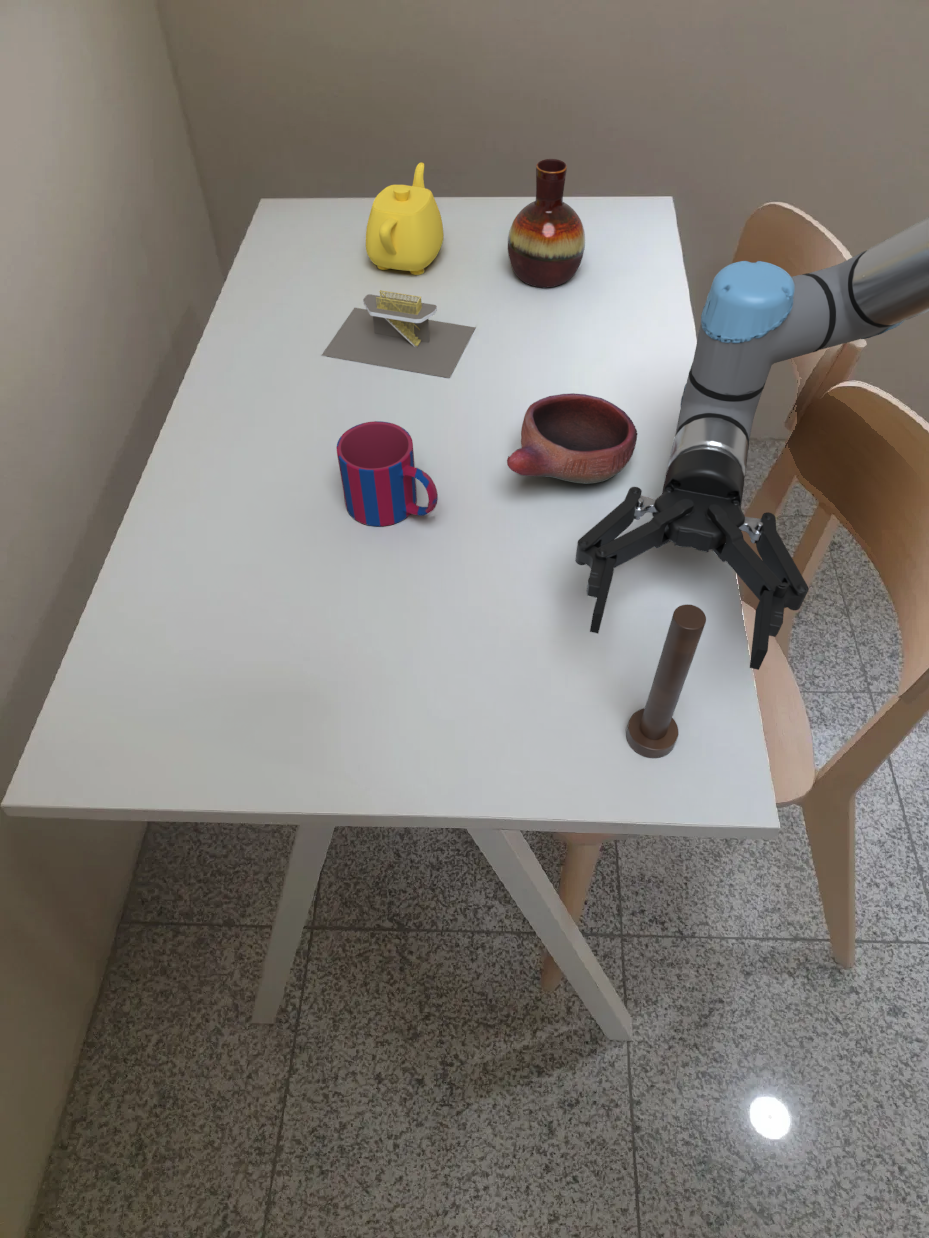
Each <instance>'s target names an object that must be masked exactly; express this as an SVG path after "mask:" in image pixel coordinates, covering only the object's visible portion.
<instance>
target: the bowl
mask: <svg viewBox="0 0 929 1238" xmlns="http://www.w3.org/2000/svg"><path fill="white" fill-rule="evenodd" d="M520 437H521V439H520V444H521V445H520V446H521V447H520V448H518V449H516V450H514V451H513V452H512V453H511V454H510V455H508V456H507V459H506V464H507V467H508V468H509V469H510V470H511V471H512V472H514V473H516V474H517V475H519V476H527V477H546V478H552V479H553V478H554V479H556V480H557V479H558V480H561V481H565V482H568V483H569V482H570V483H575V484H585V485H586V484H588V485H589V484H597V483H602V482H605V481H607V480H609V479H611V478H613V477H615V476H616V475H618V474H619V473H620V472H621V471H622V470H623V469H624V468H625V467H626V466H627V464H629V462H630V460H631V459H632V457H633V454H634V451H635V448H636V444H637V441H638V430H637V428H636V425H635V424H634V422H633V420H632V419H631V417H629V415H628V413H627V412H625V410H623V409H622V408H620V407H618V406H617V405H616V404H614V403H613V402H611V401H609V400H606V399H604V398H602V397H599V396H594V395H589V394H585V393H574V392H573V393H559V394H554V395H549V396H546V397H543V398H541V399H538V400H536V401H535V402H533V403H531V404H530V405H529V407H527V409H526V411H525V413H524V417H523V421H522V424H521V432H520Z"/></svg>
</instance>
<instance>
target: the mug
mask: <svg viewBox="0 0 929 1238" xmlns="http://www.w3.org/2000/svg"><path fill="white" fill-rule="evenodd" d="M414 454H415V453H414V442H413V439H412V435H410V432H409V431H407V430H406V429H405V428H404V427H402V426H400V425H398V424H396V423H393V422H389V421H381V420H380V421H378V420H377V421H376V420H375V421H366V422H361V423H360V424H359V423H358V424H356V425H354V426H352V427H350V428H349V429H347V430H346V431H344V433H342V435H341V436H340V437H339V438H338V440H337V443H336V456H337V461H338V468H339V474H340V479H341V486H342V492H343V497H344V504H345V508H346V511H347V513H348V514H349V516H351V518H352V519H354V520H355V521H357V522H359V523H361V524H363V525H366V526H371V527H388V526H392V525H393V526H394V525H395V524H398V523H400V522H403V521H404V520H405V519H407V518H408V517H410V515H413V516H419V517H420V516H427V515H428V514H430V513H431V512H432V511H434V510H435V508H436V507H437V505H438V500H439V497H438V490H437V486H436V485H435V482H434V480H433V479H432V477H431V476H430V475H429V474H428V473H427V472H425V471H424V470H422V469H420V468H418V467H415V455H414ZM416 480H418V481H419V482H420V483H421V484H422V485H423V487H424V489H425V491H426V494H427V498H428V503H427V506H420V505H417V503H418V501H417V500H418V495H417V482H416Z"/></svg>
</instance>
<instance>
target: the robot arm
mask: <svg viewBox="0 0 929 1238" xmlns="http://www.w3.org/2000/svg"><path fill="white" fill-rule="evenodd" d="M928 312H929V216H927V217H926V218H924V219H922V220H919V221H918V222H916V223H914V224H912V225H911V226H909V227H906V228H905V229H903V230H901V231H900V232H897V233H896V234H894V235H892V236H890V237H888V238H886V239H884V240H882V241H880V242H878V243H876V244H874V245H872V246H871V247H868V249H866V250H864V251H861V252H859V253H858V254H856V255H854V256H852V257H850V258H848V259H846V260H845V261H842V262H840V263H838V264H835V265H832V266H829V267H826V268H822V269H819V270H814V271H812V272H807V273H802V274H797V275H793V276H791V274H789V273H788V272H787V271H786V270H785V269H784V268H783V267H780V266H778V265H775V264H773V263H770V262H767V261H763V260H762V261H761V260H757V261H756V262H750V261H748V260H741V261H737V262H732V263H730V264H727V265H726V266H725V267H723V268H721V269H720V270H719V271H718V273H716V275H715V276H714V278H713V280H712V283H711V286H710V289H709V291H708V293H707V296H706V299H705V304H704V305H703V307H702V312H701V315H700V326H699V330H698V331H699V332H698V334H697V340H696V345H695V349H694V350H695V351H694V356H693V360H692V363H691V366H690V369H689V371H688V375H687V378H686V383H685V385H684V388H683V392H682V396H681V399H680V409H679V413H678V418H677V424H676V431H675V435H674V438H673V441H672V445H671V450H670V454H669V459H668V463H667V470H666V472H665V477H664V480H663V486H662V490H661V495H659V496H658V497H657V498H652V497H650V496H645V495H642V493H643V490H642V489H641V488H640V487H638V486H632V487H630V488H629V489H628V491H627V494H626V496H625V498H624V500H623V501H621V503H620V504H618V506H616V507H615V508H614V509H613V510H611V511H610V512H609V513H608V514H607V515H606V516H605V517H603V518H602V519H601V520H600V521H598V522H597V523H596V524H595V525H594V526H593V527H592V528H591V529H589V530H588V531H587V532H586V533H584V535H582V536H581V537H580V538H579V539H578V540H577V545H576V549H575V550H576V551H575V560H574V561H575V563H576V564H577V565H579V566H587V567H589V568H590V572H589V576H588V579H587V584H586V596H587V597H591V598H596V599H595V603H594V606H593V607H594V608H593V610H592V611H593V612H592V616H591V623H590V628H589V632H590V633H593V634H598V635H599V632H600V628H601V624H602V620H603V616H604V612H605V610H606V609H605V608H606V605H607V600H608V597H609V593H610V589H611V584H612V580H613V576H614V571H615V569H616V568H618V567H619V566H621V565H623V564H625V563H627V562H629V561H631V560H633V559H634V558H636V557H638V556H640V555H642V554H643V553H644V554H645V553H646V552H648V551H650V550H651V549H653V548H655V549H660V548H661V547H662V546H663V547H664V546H665V545H667V544H669V543H670V542H672V543H674V546H676V547H681V548H691V549H695V550H697V551H700V552H705V553H709V551H712V552H713V553H714V555H716V556H717V558H718V559H719V560H720V561H721V562H723V563H727V564H728V566H730V568H731V569H732V570H733V571H734V573H735V574H736V575H737V576H738V577H739V578H740V580H741V581H742V582H743V583H744V584H745V585H746V586H747V587H748V589H749V590H750V591H751V592H752V594H754V596H755V597H756V598H757V599H758V600H759V601H758V603H757V606H756V608H755V613H754V614H755V615H754V623H753V624H754V625H753V632H752V633H753V634H752V643H751V652H750V661H749V668H750V669H753V670H758V671H759V670H760V668H761V666H762V664H763V662H764V659H765V658H766V655H767V653H768V651H769V641H770V637H773V638H776V637H777V635H778V634H779V633H780V629H781V628H782V626H783V623H784V614H785V612H784V611H785V609H786V608H788V609H789V610H791V611H799V610H800V609H801V607H802V605H803V602H804V600H805V599H806V597H807V594H808V592H809V589H810V588H809V586H808V584H807V582H806V580H805V578H804V577H803V575H802V573H801V572H800V569H799V568H798V566H797V564H796V562H795V561H794V559H793V557H792V555H791V554H790V552H789V550H788V548H787V547H786V545H785V543H784V542H783V540H782V538H781V536H780V534H779V533H778V531H777V520H776V519H777V518H776V516H775V514H774V513H772V512H764V513H763V514H762V515H761V518H759V517H757V518H756V517H750V516H745V514H744V512H743V510H742V501H743V495H744V487H745V477H746V473H747V467H748V466H747V465H748V456H749V450H750V449H749V447H750V440H751V434H752V428H753V423H754V419H755V415H756V412H757V409H758V406H759V403H760V400H761V397H762V394H763V390H764V389H765V385H766V383H767V379H768V377H769V374H770V371H771V369H772V366H773V365H774V364H777V363H780V362H781V363H782V362H784V361H787V360H791V359H794V358H798V357H802V356H805V355H808V354H809V355H810V354H812V353H817V352H819V351H821V350H824V349H829V348H832V347H836V346H841V345H844V344H847V343H851V342H855V341H859V340H866V339H869V338H870V339H871V338H874V337H877V336H879V335H882V334H884V333H886V332H889V331H890V330H894V329H896V328H898V327H899V326H901V325H902V324H903V323H904V322H905V321H908V320H910V319H913V318H916V317H918V316H920V315H924V314H925V313H928ZM649 513H651V515H652V518H651V519H650V520H649V521H647V522H645V523H644V524H641V525H640V526H638V527H635V528H633V529H632V530H630V531H628V532H626V533H624V531H626V530H627V529H628V528H629V527H630V526H631V525H632V524H633V522H634V521H639V520H640V519H641V517H644V515H645V514H649ZM743 532H745V533H747V535H748V537H749V538H750V543H751V544H755V547H756V550H757V552H758V553H757V552H755V550H753V548H752V547H751V546H750V545H749V544H748V543H747V541H746V540H745V539H744V533H743ZM622 533H624V534H622ZM621 534H622V535H621Z"/></svg>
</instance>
